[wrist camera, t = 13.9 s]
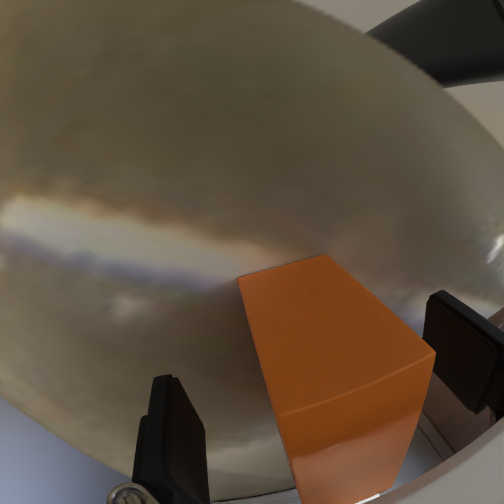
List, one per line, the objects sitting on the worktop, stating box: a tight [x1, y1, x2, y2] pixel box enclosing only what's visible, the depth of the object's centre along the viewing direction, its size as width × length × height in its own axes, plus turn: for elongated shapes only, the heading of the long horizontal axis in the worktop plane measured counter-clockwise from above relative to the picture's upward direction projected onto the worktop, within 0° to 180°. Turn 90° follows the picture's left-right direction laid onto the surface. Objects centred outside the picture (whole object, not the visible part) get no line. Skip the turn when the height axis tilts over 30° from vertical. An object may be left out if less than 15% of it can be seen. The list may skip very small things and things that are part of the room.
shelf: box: [379, 308, 504, 496], centre depth 9 cm, size 12×15×13 cm
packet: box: [237, 254, 436, 504], centre depth 8 cm, size 3×7×6 cm, turn 12°
